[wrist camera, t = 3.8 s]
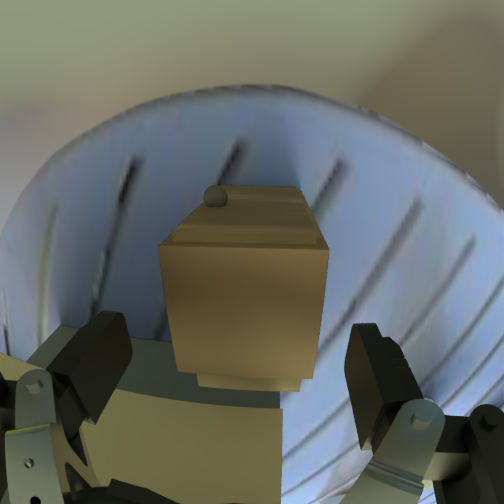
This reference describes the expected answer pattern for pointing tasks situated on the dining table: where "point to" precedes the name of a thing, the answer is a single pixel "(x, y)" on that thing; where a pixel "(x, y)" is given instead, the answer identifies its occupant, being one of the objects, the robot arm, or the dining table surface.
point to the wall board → (177, 430)
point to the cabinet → (246, 288)
